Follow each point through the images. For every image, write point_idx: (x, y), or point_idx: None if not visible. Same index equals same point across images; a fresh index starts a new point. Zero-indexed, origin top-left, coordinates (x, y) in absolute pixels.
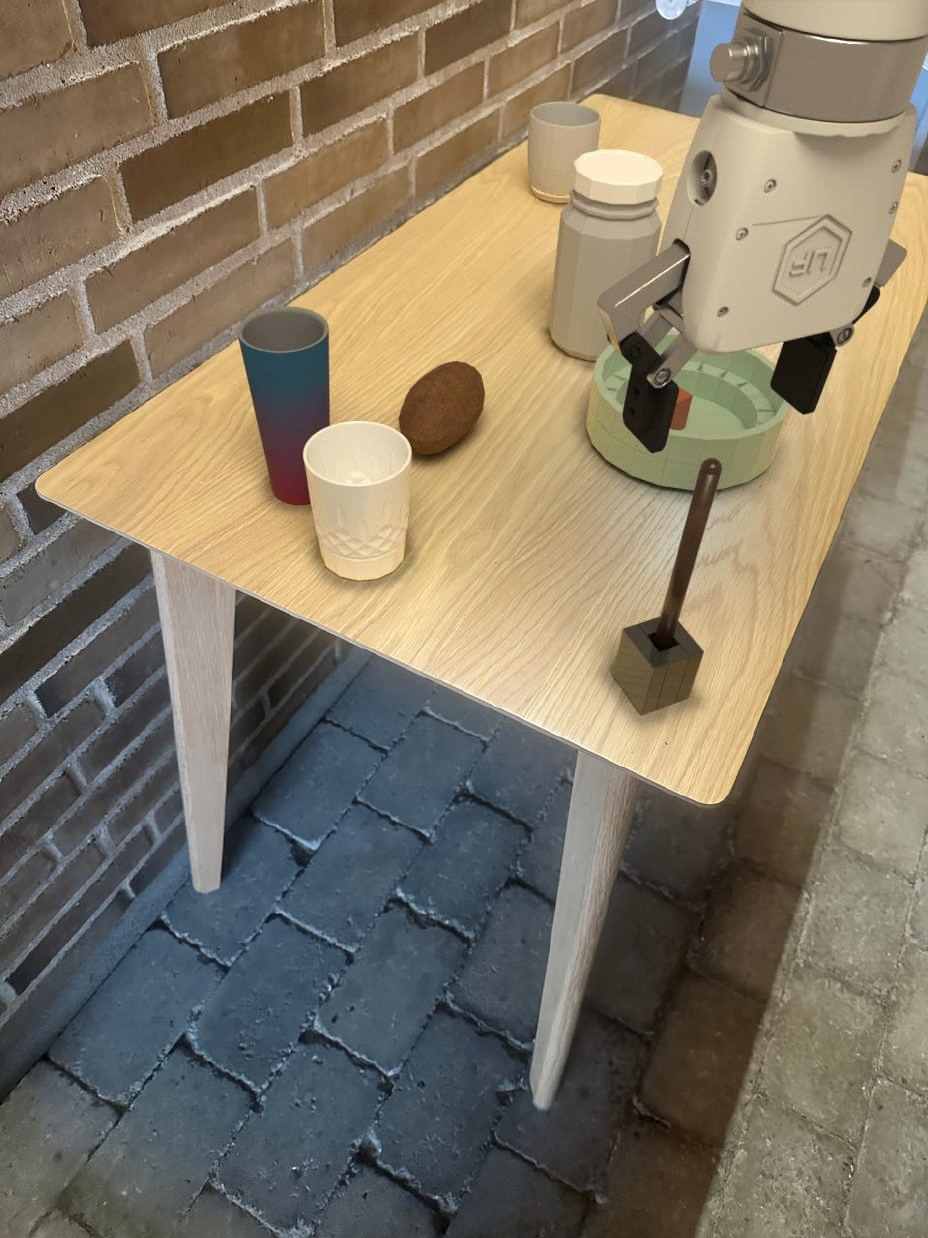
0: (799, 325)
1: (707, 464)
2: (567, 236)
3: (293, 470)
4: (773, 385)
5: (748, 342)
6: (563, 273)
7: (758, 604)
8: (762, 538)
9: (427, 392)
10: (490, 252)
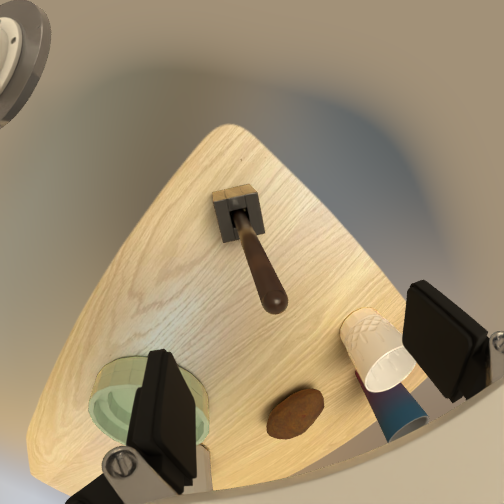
0: (362, 500)
1: (285, 303)
2: None
3: None
4: (193, 401)
5: (488, 411)
6: (210, 482)
7: (136, 264)
8: (118, 317)
9: (311, 420)
10: (221, 485)
